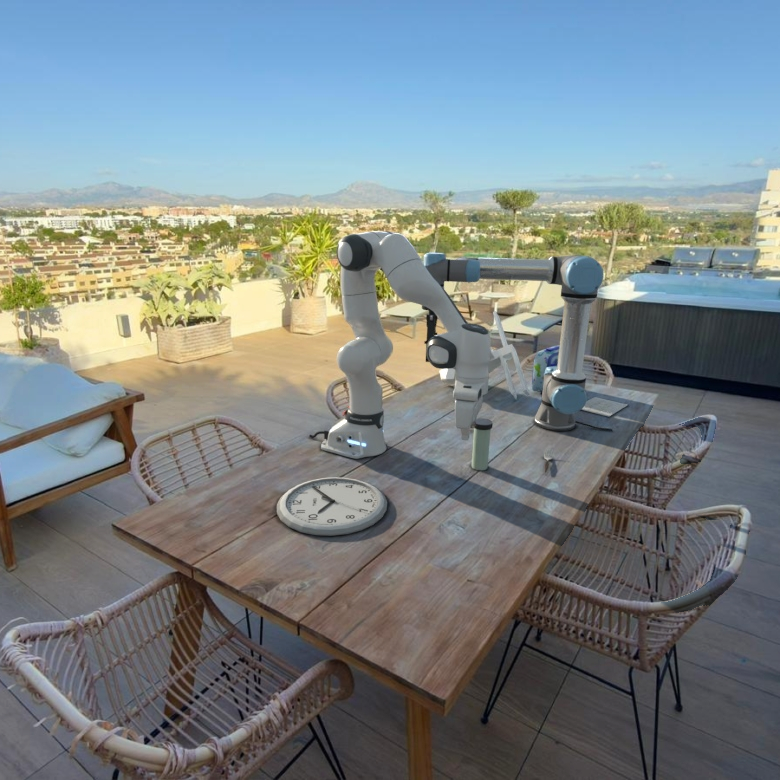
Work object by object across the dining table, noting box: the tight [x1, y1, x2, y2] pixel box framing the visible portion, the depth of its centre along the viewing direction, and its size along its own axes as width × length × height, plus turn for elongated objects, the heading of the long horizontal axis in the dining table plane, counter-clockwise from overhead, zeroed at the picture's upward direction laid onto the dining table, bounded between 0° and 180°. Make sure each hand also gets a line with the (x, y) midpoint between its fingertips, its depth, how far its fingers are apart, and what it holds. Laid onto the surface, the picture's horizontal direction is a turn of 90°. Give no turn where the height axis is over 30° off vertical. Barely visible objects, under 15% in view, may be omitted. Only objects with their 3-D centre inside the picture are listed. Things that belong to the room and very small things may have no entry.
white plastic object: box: [438, 310, 531, 400], centre depth 245 cm, size 37×45×31 cm
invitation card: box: [580, 396, 629, 418], centre depth 226 cm, size 21×1×15 cm
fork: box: [543, 448, 554, 473], centre depth 170 cm, size 3×16×2 cm, turn 160°
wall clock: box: [276, 476, 388, 537], centre depth 142 cm, size 30×2×30 cm
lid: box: [475, 417, 493, 431], centre depth 163 cm, size 6×6×2 cm
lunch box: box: [531, 344, 560, 393], centre depth 245 cm, size 26×11×21 cm, turn 134°
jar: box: [470, 428, 491, 471], centre depth 165 cm, size 5×5×15 cm
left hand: (468, 433), depth 144 cm, fingers open, 8 cm apart
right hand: (430, 357), depth 190 cm, fingers open, 13 cm apart
